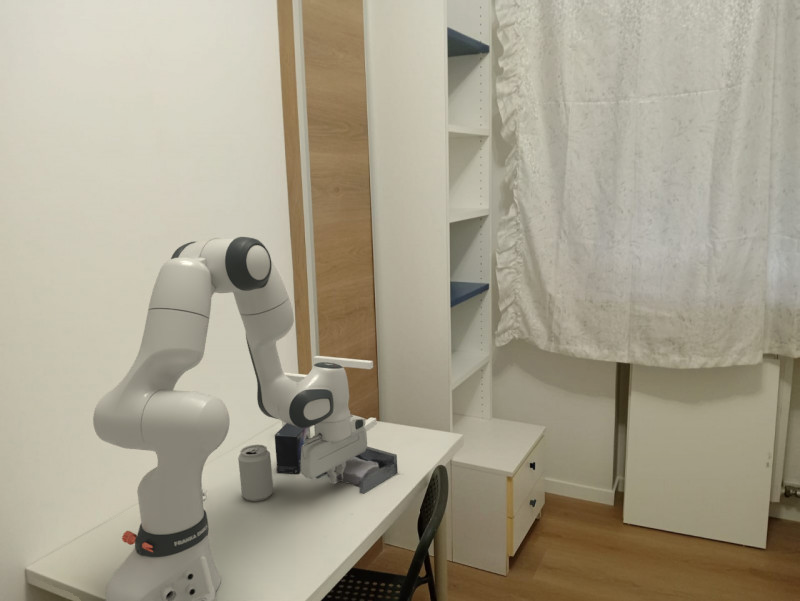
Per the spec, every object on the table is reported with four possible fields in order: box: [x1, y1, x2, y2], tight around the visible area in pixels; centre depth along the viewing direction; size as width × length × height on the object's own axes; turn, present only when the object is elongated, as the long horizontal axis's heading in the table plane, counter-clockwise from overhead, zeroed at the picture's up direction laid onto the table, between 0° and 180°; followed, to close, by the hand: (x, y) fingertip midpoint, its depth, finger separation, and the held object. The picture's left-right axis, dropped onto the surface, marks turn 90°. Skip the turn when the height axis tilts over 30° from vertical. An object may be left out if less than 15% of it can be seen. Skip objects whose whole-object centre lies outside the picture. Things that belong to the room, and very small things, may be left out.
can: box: [237, 444, 274, 502], centre depth 163 cm, size 8×8×12 cm
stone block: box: [327, 457, 380, 486], centre depth 173 cm, size 12×5×10 cm
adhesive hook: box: [202, 488, 208, 502], centre depth 164 cm, size 3×3×3 cm
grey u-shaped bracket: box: [314, 445, 398, 494], centre depth 172 cm, size 13×16×5 cm
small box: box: [274, 423, 311, 475], centre depth 180 cm, size 11×6×10 cm, turn 168°
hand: (336, 480), depth 167 cm, fingers closed
